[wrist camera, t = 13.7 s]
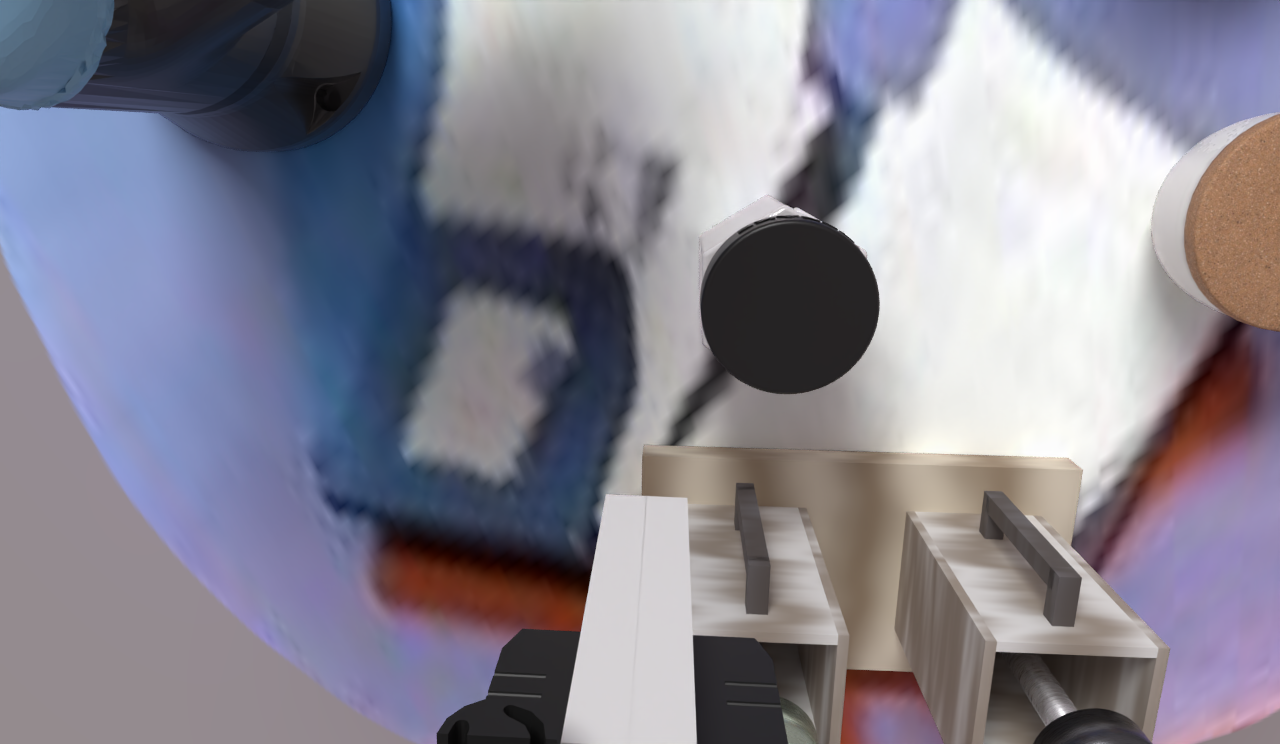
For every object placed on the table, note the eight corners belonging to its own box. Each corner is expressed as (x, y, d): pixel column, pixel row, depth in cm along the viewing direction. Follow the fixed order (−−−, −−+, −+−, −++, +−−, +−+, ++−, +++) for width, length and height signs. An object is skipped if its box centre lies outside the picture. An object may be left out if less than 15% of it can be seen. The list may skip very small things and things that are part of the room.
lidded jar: (1078, 199, 48) (1169, 211, 39) (1250, 69, 46) (1389, 50, 37) (1180, 341, 50) (1290, 384, 41) (1351, 223, 48) (1506, 240, 39)
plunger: (915, 632, 52) (1024, 861, 35) (925, 535, 50) (1045, 728, 33) (1022, 636, 51) (1183, 869, 35) (1036, 539, 50) (1212, 735, 33)
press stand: (640, 642, 57) (624, 828, 41) (643, 444, 53) (627, 566, 38) (1037, 659, 56) (1173, 855, 40) (1068, 458, 52) (1229, 589, 37)
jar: (868, 248, 50) (925, 279, 38) (794, 366, 52) (827, 429, 40) (735, 171, 49) (751, 179, 37) (665, 294, 51) (660, 338, 39)
